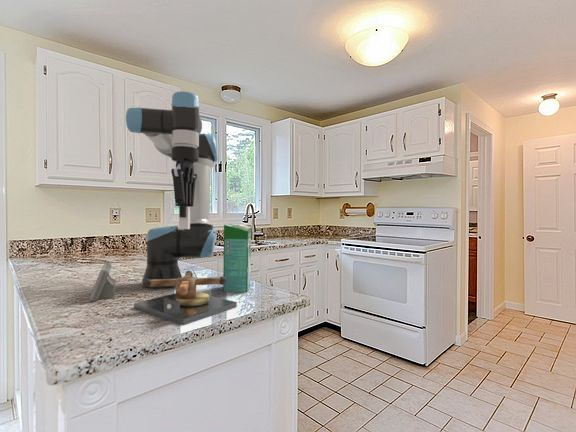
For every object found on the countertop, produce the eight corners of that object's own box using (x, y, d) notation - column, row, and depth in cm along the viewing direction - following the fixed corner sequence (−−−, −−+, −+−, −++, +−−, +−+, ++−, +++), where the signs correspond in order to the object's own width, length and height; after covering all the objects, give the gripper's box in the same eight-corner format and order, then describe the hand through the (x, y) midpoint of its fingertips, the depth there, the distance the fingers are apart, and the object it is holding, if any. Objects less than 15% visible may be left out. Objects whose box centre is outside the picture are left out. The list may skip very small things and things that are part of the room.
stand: (131, 308, 99) (131, 290, 99) (187, 294, 116) (187, 279, 116) (181, 325, 85) (181, 305, 85) (236, 306, 102) (236, 289, 102)
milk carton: (247, 292, 120) (248, 224, 120) (223, 291, 121) (223, 224, 120) (250, 286, 130) (251, 223, 129) (228, 285, 130) (228, 223, 129)
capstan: (133, 316, 86) (133, 288, 86) (151, 293, 110) (151, 271, 110) (227, 311, 91) (228, 285, 91) (224, 290, 115) (225, 269, 115)
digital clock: (95, 291, 119) (95, 262, 119) (122, 289, 121) (122, 261, 121) (78, 303, 103) (78, 270, 103) (109, 302, 106) (110, 269, 105)
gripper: (182, 152, 101) (181, 227, 101) (161, 142, 88) (161, 229, 88) (205, 151, 100) (204, 228, 100) (188, 142, 87) (187, 230, 87)
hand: (184, 228), depth 94 cm, fingers closed
